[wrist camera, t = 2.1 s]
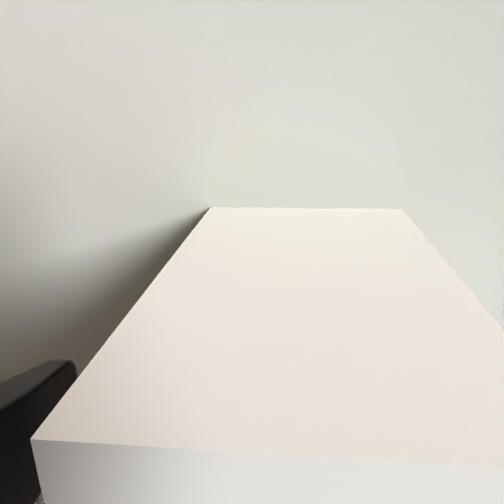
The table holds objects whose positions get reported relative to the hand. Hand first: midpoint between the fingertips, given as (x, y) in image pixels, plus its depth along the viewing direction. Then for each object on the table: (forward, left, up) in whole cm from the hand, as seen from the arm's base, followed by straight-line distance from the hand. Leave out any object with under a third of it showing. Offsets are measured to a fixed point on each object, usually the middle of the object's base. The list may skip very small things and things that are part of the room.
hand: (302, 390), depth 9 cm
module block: (0, 0, -2) cm, 2 cm away
